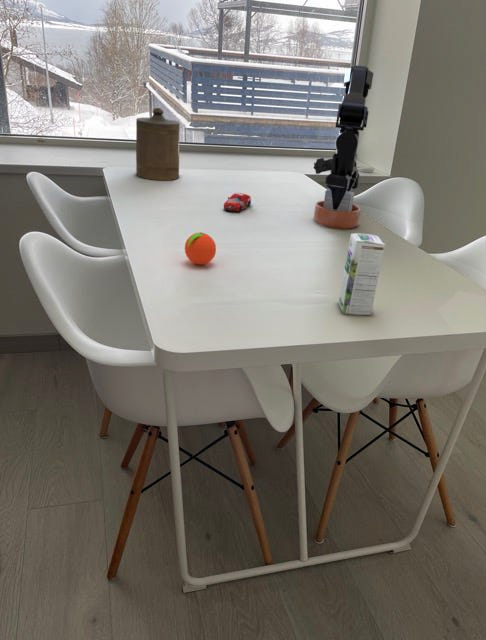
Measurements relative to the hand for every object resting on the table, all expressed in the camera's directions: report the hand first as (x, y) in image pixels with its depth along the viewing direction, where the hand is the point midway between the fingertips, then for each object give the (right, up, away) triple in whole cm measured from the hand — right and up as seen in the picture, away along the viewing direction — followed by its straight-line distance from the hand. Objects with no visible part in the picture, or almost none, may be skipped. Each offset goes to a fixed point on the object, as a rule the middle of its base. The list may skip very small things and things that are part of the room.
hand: (338, 206), depth 171 cm
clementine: (-36, -26, -40) cm, 60 cm away
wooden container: (-60, +22, +36) cm, 73 cm away
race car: (-30, +1, +7) cm, 31 cm away
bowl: (-1, -4, +2) cm, 5 cm away
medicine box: (0, -4, +2) cm, 5 cm away
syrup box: (-3, -37, -55) cm, 66 cm away
